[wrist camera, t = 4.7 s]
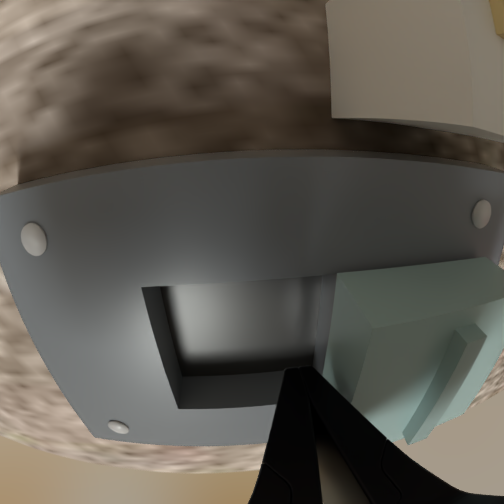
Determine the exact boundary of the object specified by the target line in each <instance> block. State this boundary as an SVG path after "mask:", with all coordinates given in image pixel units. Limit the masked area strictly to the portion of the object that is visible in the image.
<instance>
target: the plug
mask: <svg viewBox="0 0 504 504" xmlns="http://www.w3.org/2000/svg"><path fill="white" fill-rule="evenodd" d="M325 7H326V17H327V28H328V42H329V58H330V78H331V115H332V118H338V119H352V120H363V121H374V122H383V123H391V124H399V125H406V126H413V127H419V128H425V129H431V130H437V131H444V132H451V133H457V134H463V135H468V136H474V137H479V138H484V139H488V140H493V141H497V142H502V143H504V0H329V1H328V2H327V3H326V4H325Z"/></svg>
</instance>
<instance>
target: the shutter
mask: <svg viewBox="0 0 504 504" xmlns="http://www.w3.org/2000/svg"><path fill="white" fill-rule="evenodd" d="M503 348H504V270H503V269H502V268H500V267H499V266H498V265H496V264H495V263H493V262H492V261H491V260H489V259H488V258H486V257H480V258H472V259H465V260H456V261H448V262H440V263H431V264H422V265H413V266H404V267H395V268H385V269H375V270H365V271H354V272H344V273H337V278H336V287H335V296H334V304H333V311H332V319H331V326H330V333H329V339H328V346H327V352H326V358H325V364H324V369H323V375H322V376H323V377H324V378H325V379H326V380H327V381H328V382H329V383H330V384H331V385H332V386H333V387H334V388H335V389H336V390H337V391H338V392H339V393H340V394H341V395H343V396H344V397H345V398H346V399H347V400H348V401H349V402H350V403H351V404H352V405H353V406H354V407H355V408H356V409H357V410H358V411H359V412H360V413H361V414H362V415H363V416H364V417H365V418H366V419H368V420H369V421H370V422H371V423H372V424H373V425H374V426H375V427H376V428H377V429H378V430H379V431H380V432H381V433H382V434H384V435H385V436H386V437H387V439H389V440H390V441H391V442H394V441H397V440H400V439H403V438H405V440H406V442H407V444H408V445H410V444H413V443H415V442H418V441H420V440H423V439H426V438H427V437H428V435H429V434H430V433H431V431H432V430H433V429H434V427H435V426H437V425H440V424H442V423H444V422H446V421H449V420H451V419H453V418H456V417H458V416H460V415H462V414H464V412H465V411H466V409H467V408H468V407H469V405H470V404H471V402H472V401H473V399H474V398H475V396H476V395H477V393H478V392H479V390H480V388H481V387H482V385H483V384H484V382H485V380H486V379H487V377H488V375H489V374H490V372H491V370H492V369H493V367H494V365H495V363H496V361H497V360H498V358H499V356H500V354H501V352H502V350H503Z"/></svg>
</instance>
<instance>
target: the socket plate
mask: <svg viewBox="0 0 504 504" xmlns="http://www.w3.org/2000/svg"><path fill="white" fill-rule="evenodd" d="M503 245H504V171H502V170H499V169H496V168H493V167H490V166H487V165H484V164H479V163H473V162H467V161H460V160H453V159H446V158H438V157H430V156H421V155H411V154H401V153H388V152H374V151H355V150H324V149H280V150H249V151H229V152H214V153H202V154H190V155H180V156H171V157H162V158H154V159H146V160H138V161H131V162H125V163H118V164H112V165H106V166H100V167H94V168H89V169H84V170H79V171H74V172H69V173H64V174H59V175H55V176H50V177H46V178H42V179H37V180H33V181H29V182H25V183H22V184H18V185H15V186H13V187H11V188H8V189H6V190H4V191H2V192H0V264H1V267H2V270H3V273H4V275H5V278H6V281H7V284H8V286H9V289H10V291H11V294H12V296H13V299H14V301H15V304H16V306H17V308H18V311H19V313H20V315H21V317H22V320H23V322H24V324H25V326H26V328H27V330H28V332H29V334H30V336H31V338H32V340H33V342H34V344H35V346H36V348H37V350H38V352H39V354H40V356H41V357H42V359H43V361H44V363H45V365H46V366H47V368H48V370H49V372H50V373H51V375H52V377H53V378H54V380H55V382H56V383H57V385H58V386H59V388H60V390H61V391H62V393H63V394H64V396H65V397H66V399H67V400H68V402H69V403H70V405H71V406H72V408H73V409H74V410H75V412H76V413H77V415H78V416H79V417H80V419H81V420H82V422H83V423H84V424H85V426H86V427H87V428H88V430H89V431H90V432H91V433H92V435H93V436H94V437H96V438H102V439H108V440H115V441H123V442H132V443H142V444H155V445H172V446H229V445H247V444H260V443H267V442H268V438H269V434H270V430H271V425H272V421H273V417H274V413H275V409H276V404H277V400H278V396H279V391H280V387H281V382H282V378H283V373H284V369H285V368H289V367H299V366H306V365H311V366H313V367H314V368H315V369H316V370H317V371H318V372H319V373H320V374H321V375H323V369H324V364H325V358H326V352H327V346H328V339H329V333H330V326H331V319H332V311H333V304H334V296H335V287H336V278H337V273H344V272H354V271H365V270H375V269H385V268H395V267H404V266H413V265H422V264H431V263H440V262H448V261H456V260H465V259H472V258H480V257H486V258H488V259H489V260H491V261H492V262H493V263H495V264H496V265H498V264H499V261H500V257H501V253H502V249H503Z"/></svg>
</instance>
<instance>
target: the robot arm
mask: <svg viewBox="0 0 504 504" xmlns="http://www.w3.org/2000/svg"><path fill="white" fill-rule="evenodd" d="M248 504H504V496H493V495H481V494H473V493H468V492H464V491H461V490H459V489H457V488H455V487H453V486H451V485H449V484H448V483H446V482H444V481H443V480H441V479H440V478H439V477H437V476H435V475H434V474H432V473H431V472H429V471H428V470H426V469H425V468H423V467H422V466H420V465H419V464H418V463H416V462H415V461H413V460H412V459H411V458H409V457H408V456H407V455H406V454H405V453H404V452H402V451H401V450H400V449H399V448H398V447H397V446H395V445H394V444H393V443H392V442H391V441H390V440H389V439H387V437H386V436H385V435H384V434H382V433H381V432H380V431H379V430H378V429H377V428H376V427H375V426H374V425H373V424H372V423H371V422H370V421H369V420H368V419H366V418H365V417H364V416H363V415H362V414H361V413H360V412H359V411H358V410H357V409H356V408H355V407H354V406H353V405H352V404H351V403H350V402H349V401H348V400H347V399H346V398H345V397H344V396H343V395H341V394H340V393H339V392H338V391H337V390H336V389H335V388H334V387H333V386H332V385H331V384H330V383H329V382H328V381H327V380H326V379H325V378H324V377H323V376H322V375H321V374H320V373H319V372H318V371H317V370H316V369H315V368H314V367H313V366H311V365H306V366H299V367H289V368H285V369H284V373H283V378H282V382H281V387H280V391H279V396H278V400H277V404H276V409H275V413H274V417H273V421H272V425H271V430H270V434H269V438H268V442H267V445H266V449H265V453H264V457H263V461H262V464H261V468H260V471H259V475H258V478H257V481H256V484H255V487H254V491H253V493H252V495H251V498H250V500H249V502H248Z"/></svg>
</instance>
